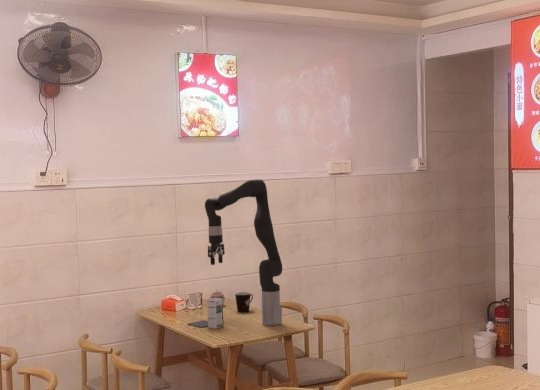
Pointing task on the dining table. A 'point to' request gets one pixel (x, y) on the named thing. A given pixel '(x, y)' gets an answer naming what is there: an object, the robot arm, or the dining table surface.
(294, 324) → the dining table surface
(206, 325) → the mat
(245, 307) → the coffee mug
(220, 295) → the cupcake
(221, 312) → the syrup box
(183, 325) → the dining table surface
